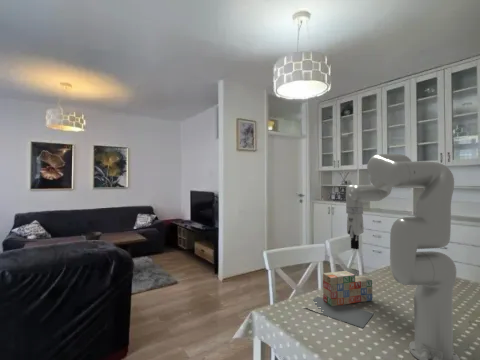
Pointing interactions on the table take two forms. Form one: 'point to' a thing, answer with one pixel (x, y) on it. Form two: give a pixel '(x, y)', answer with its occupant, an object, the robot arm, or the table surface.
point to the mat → (344, 313)
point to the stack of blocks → (346, 288)
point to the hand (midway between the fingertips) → (354, 248)
